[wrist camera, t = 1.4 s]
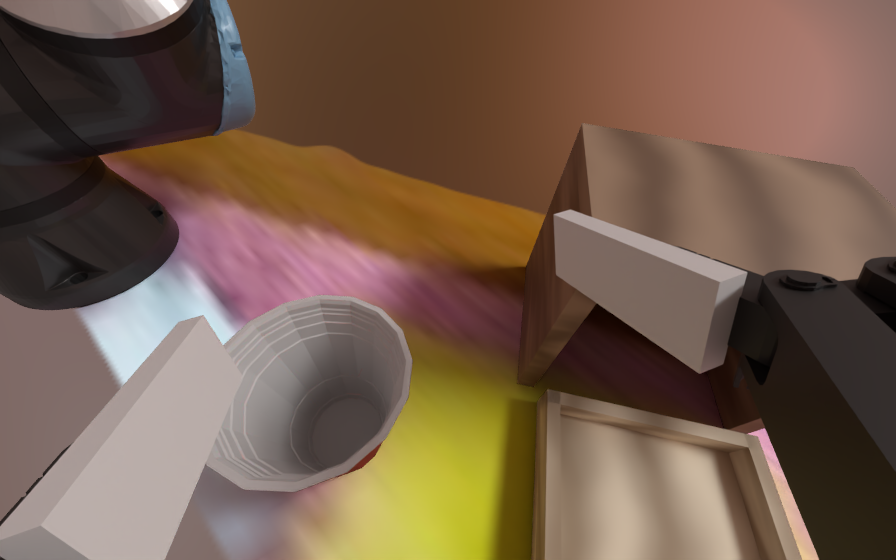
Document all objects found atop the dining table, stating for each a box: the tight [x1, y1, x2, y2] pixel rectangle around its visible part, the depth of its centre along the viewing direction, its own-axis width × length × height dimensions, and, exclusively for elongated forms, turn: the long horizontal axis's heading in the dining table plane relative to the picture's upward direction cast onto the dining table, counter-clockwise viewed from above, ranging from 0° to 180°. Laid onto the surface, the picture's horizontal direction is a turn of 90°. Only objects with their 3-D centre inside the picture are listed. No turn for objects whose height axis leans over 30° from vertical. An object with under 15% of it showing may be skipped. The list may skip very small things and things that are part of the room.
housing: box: [517, 123, 896, 434], centre depth 27 cm, size 20×14×17 cm
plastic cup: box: [206, 295, 413, 492], centre depth 22 cm, size 11×11×12 cm
